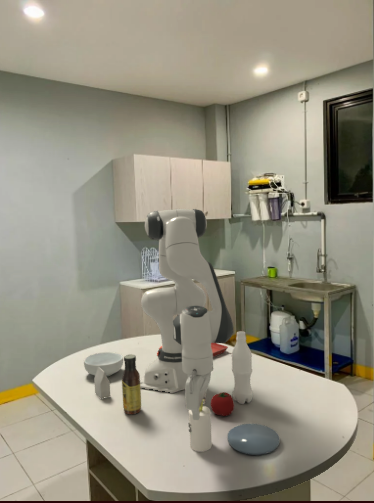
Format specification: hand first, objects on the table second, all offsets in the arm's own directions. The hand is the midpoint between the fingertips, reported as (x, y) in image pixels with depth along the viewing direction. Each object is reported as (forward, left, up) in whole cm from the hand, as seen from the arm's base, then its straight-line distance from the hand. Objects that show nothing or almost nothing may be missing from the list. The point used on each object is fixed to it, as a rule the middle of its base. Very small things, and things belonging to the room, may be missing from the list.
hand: (199, 410), depth 116 cm
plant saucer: (-13, +78, -11) cm, 80 cm away
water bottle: (+10, +30, -11) cm, 34 cm away
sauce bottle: (-27, +17, -11) cm, 34 cm away
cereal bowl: (-51, +48, -11) cm, 71 cm away
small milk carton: (-43, +28, -11) cm, 53 cm away
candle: (0, 0, -11) cm, 11 cm away
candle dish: (+15, +4, -11) cm, 19 cm away
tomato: (+4, +20, -11) cm, 23 cm away
